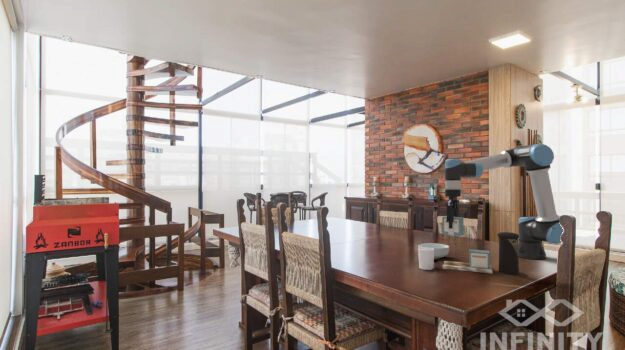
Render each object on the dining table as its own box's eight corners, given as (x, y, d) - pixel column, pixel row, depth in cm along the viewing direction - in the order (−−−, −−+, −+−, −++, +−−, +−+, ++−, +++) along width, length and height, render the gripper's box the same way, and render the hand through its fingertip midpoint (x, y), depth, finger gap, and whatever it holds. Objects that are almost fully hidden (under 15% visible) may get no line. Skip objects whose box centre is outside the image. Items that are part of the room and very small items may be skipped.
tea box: (445, 233, 184) (445, 216, 184) (463, 234, 178) (463, 217, 178) (442, 234, 180) (442, 217, 180) (460, 236, 174) (460, 218, 174)
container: (519, 278, 159) (518, 234, 160) (497, 275, 164) (496, 232, 164) (519, 273, 167) (519, 231, 167) (498, 271, 172) (498, 230, 172)
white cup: (434, 267, 180) (434, 247, 180) (434, 270, 173) (434, 250, 173) (418, 265, 183) (418, 246, 183) (417, 269, 175) (417, 249, 175)
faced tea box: (469, 267, 175) (469, 249, 175) (489, 269, 171) (489, 250, 171) (469, 269, 170) (468, 251, 170) (489, 271, 167) (489, 253, 167)
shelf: (491, 270, 173) (491, 265, 173) (492, 275, 164) (492, 270, 164) (444, 265, 182) (444, 260, 182) (442, 270, 173) (442, 265, 173)
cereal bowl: (444, 254, 208) (444, 242, 208) (453, 261, 192) (453, 248, 192) (415, 254, 210) (415, 242, 210) (421, 260, 193) (421, 248, 193)
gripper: (450, 188, 188) (451, 231, 188) (439, 189, 174) (439, 235, 174) (465, 188, 184) (465, 232, 183) (454, 189, 169) (455, 237, 169)
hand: (453, 234), depth 179 cm, fingers closed on tea box, 5 cm apart
